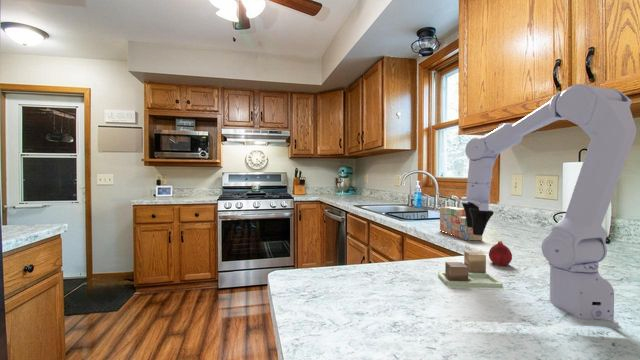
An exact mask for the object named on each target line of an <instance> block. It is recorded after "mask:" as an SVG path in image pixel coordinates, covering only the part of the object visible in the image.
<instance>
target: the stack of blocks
mask: <svg viewBox="0 0 640 360" xmlns="http://www.w3.org/2000/svg"><path fill="white" fill-rule="evenodd" d="M440 230H441V231H444V232H447V233H449V234H452V235H455V236H458V237H460V238H459V239H461V238H463V239H462V240H465V239H466V240H465V241H468V240H482V241H483V235H482V236H481V235H474V234H473V230H472V228H470V227H467V224H466V215H465V211H464V207H455V206H439V231H440ZM449 234H448V235H449ZM452 235H451V236H452ZM455 236H454V237H455ZM458 237H457V238H458Z"/></svg>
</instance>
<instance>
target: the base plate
mask: <svg viewBox="0 0 640 360" xmlns="http://www.w3.org/2000/svg"><path fill="white" fill-rule="evenodd" d="M435 274H436V276H438V278H439V279H440V280H441V281H442V282H443V284H445V286H446V287H447V288H448V289H465V290H466V289H469V290H491V291H492V290H495V291H496V290H498V291H501V290H502V291H509V289H508V288H506V287H505V286H504V282H503V281H501V280H500V279H498V278H497V277H496V276H494V275H493V274H489V273H487V272H486V273H470V272H468V281H449V280H448V279H447V278H446V277H445V272H444V271H438V272H435Z"/></svg>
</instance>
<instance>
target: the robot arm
mask: <svg viewBox="0 0 640 360" xmlns="http://www.w3.org/2000/svg"><path fill="white" fill-rule="evenodd" d="M632 102H633V101H632V99H631V98H629V96H627V95H626V94H625V93H623V92H622V91H620V90H619V89H617V88H611V87H610V88H608V87H607V88H605V87H598V86H592V85H591V86H590V85H588V84H582V83H577V84H574V85H570V86H569V87H567V88H565V89H564V90H563V91H561V92H557V93H556V94H554V95H553V96H551V99H550V100H549V101H547V102H546V103H545V104H542V105H541V106H540V107H538V108H537V109H535V110H533V111H532V112H531V113H529V114H527V115H526V116H524V117H523V118H521V119H519V120H517V122H515V123H512V122H506V123H505V122H504V123H503V122H502V123H500V124H498V126H497V127H498V128H497V127H496V129H494V130H493V131H492V130H491V132H489V133H488V132H487V133H485V134H483V136H481V137H480V138H479V137H473V138H471V139H470V140H469V141H468V142H467V143H466V145H465V149H464V150H465V151H464V153H465V156H466V157H467V159H468V160H469V161H468V162H469V163H468V173H467V182H466V183H467V184H466V192H465V193H466V194H465V196H461V197H460V199H461V201H466V202H461V205H462V208H463V209H464V211H465V215H466V224H467V227H470V228H472V230H473V234H474V235H481V236H482V237H483V235H484V232H485V229H486V228H487V227H486V226H487V224H488V222H489V221H490V219H491V218H492V216H493V215H494V214H495V213H494V211H493V210H489V209H490V208H489V207H490V203H491V199H490V198H491V197H490V196H491V187H492V179H493V177H492V175H493V168H494V165H495V163H496V159H497V158H498V157H499V155H500V153H502V152H504V151H506V150H509V149H510V148H512V147H514V146H516V145H518V144H521V142H522V141H523V137H524V136H526V135H528V134H530V133H532V132H534V131H537V130H539V129H541V128H544V127H545V126H548V125H550V124H552V123H555V122H557V121H560V120H561V121H564V120H567V121H569V122H571V123H573V124H575V125H577V126H579V128H581V129H582V131H583V132H585V135H586V134H587V136H588V137H589V138H590V141H589V144H588V147H587V150H586V153H585V156H584V158H583V162H582V165H581V168H580V171H579V173H578V177H577V180H576V183H575V185H574V188H573V192H572V195H571V198H570V200H569V204H568V205H567V209H566V212H565V215H564V216H563V218H562V219H560V220H559V221H558V222H557V223H556V224H554V226H552V229H551V232H550V233H549V234H548V235H547V236H546V237H545V238H544V239H543V241H542V243H541V252H542V254H543V257H544V258H545V259H546V261H547V262H548V266H549V302H550V304H552V305H553V306H555V307H558V309H559V308H560V309H562V310H564V311H566V312H567V313H569V314H571V315H572V316H575V318H578V319H580V320H581V319H585V320H607V321H608V320H609V321H610V322H612V323H614V324H615V325H617V326H619V325H620V323H619V321H617V320H615V318H614V316H615V312H614V311H615V290H614V287H613V286H612V284H611V283H610V281H608V280H606V279H605V278H604V277H603V276H602V275H600V273H599V265H600V264H599V263H600V262H601V263H602V261H603V260H605V258H606V257H607V254H608V248H607V244H606V241H607V238H608V231H606V229H605V228H604V226H603V224H604V223H603V222H604V220H605V217H606V214H607V212H608V210H609V206H610V205H611V201H612V198H613V197H614V196H613V195H614V193H615V191H616V188H617V186H618V184H619V181H620V177H621V176H622V172H623V169H624V167H625V165H626V161H627V159H628V156H629V154H630V152H631V148H632V146H633V143H634V141H635V139H636V135H637V126H636V123H635V120H634V118H633V114H632V111H631V104H632Z"/></svg>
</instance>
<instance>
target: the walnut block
mask: <svg viewBox="0 0 640 360" xmlns="http://www.w3.org/2000/svg"><path fill="white" fill-rule="evenodd" d="M444 265H445V269H444V270H445V277H446V278H447V279H448V280H449V281H468V273H469V271H468V267H467V266H466V265H465V264H464V262H462V261H445V262H444Z"/></svg>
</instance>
